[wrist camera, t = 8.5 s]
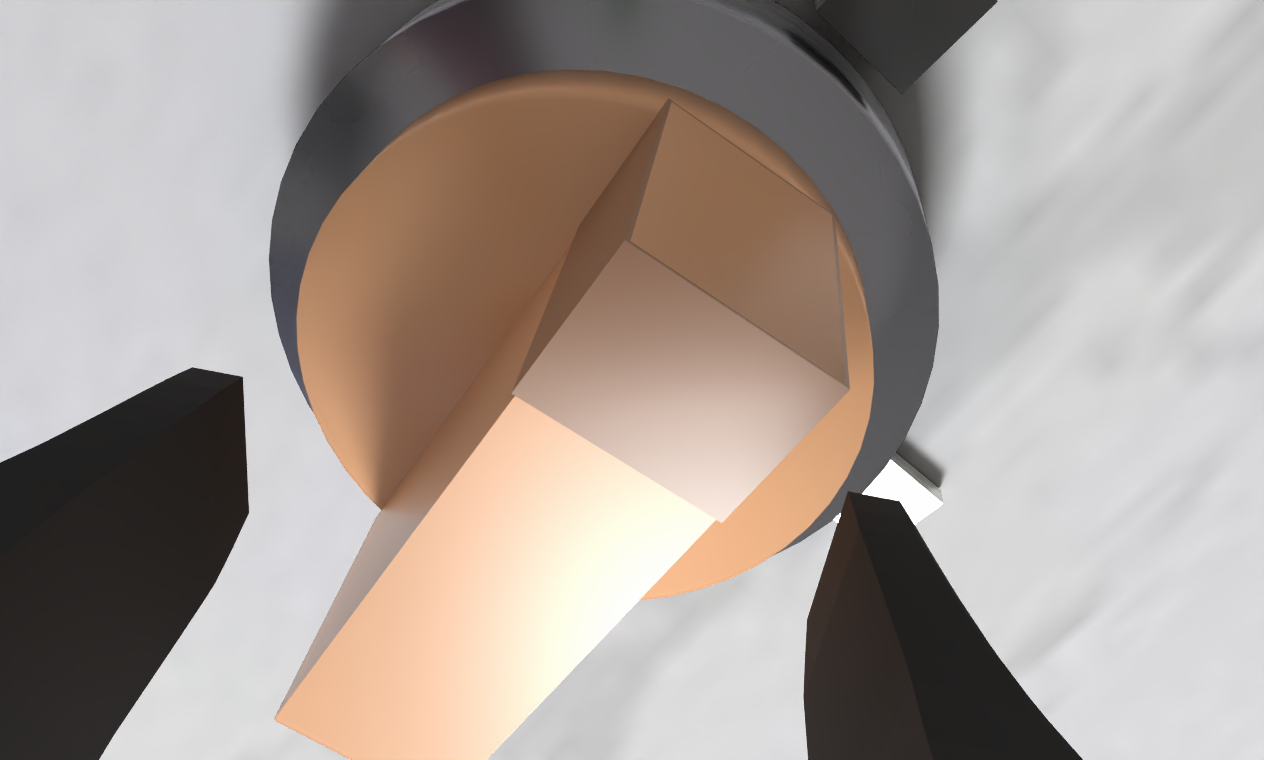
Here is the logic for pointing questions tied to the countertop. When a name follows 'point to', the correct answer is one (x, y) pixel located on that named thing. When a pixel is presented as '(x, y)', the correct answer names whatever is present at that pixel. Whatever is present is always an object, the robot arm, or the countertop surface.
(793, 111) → the post base
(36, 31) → the countertop surface
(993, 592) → the countertop surface
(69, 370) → the countertop surface
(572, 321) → the twist cap
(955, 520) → the countertop surface
